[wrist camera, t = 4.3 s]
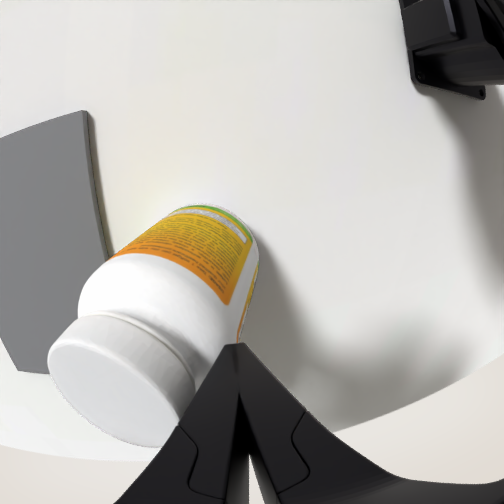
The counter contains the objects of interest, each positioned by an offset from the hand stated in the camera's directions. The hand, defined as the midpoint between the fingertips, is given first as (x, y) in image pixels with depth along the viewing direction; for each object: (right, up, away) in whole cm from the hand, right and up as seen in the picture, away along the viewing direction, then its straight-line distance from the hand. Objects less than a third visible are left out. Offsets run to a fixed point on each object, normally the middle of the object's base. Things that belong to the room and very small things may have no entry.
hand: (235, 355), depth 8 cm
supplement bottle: (-2, +3, +7) cm, 8 cm away
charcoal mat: (-13, +2, +7) cm, 14 cm away
